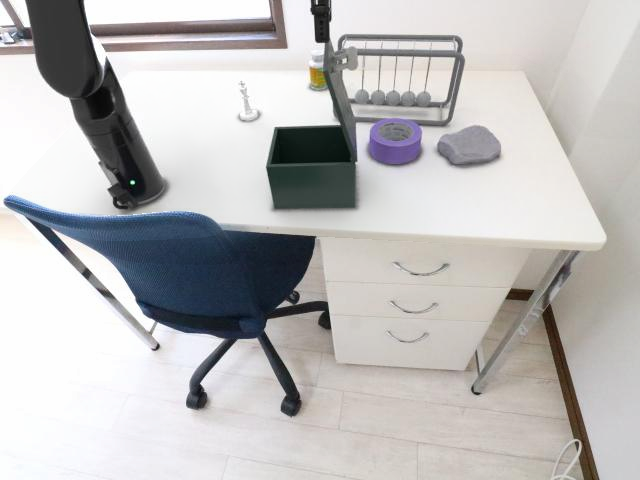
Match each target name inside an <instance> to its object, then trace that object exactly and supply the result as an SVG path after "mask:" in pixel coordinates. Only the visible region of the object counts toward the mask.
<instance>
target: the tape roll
mask: <svg viewBox="0 0 640 480" xmlns="http://www.w3.org/2000/svg"><path fill="white" fill-rule="evenodd" d="M388 118H389V119H384V120H381V121H378V122H374V123H373V124H372V126H371V127H370V129H369V142H368V143H369V145H368V151H369V154H370V155H371V157H372V158H373V159H374V160H377V161H378V162H380V163H382V164H383V163H384V164H387V165H402V164H403V165H404V164H407V163H409V162H412V161H414V160H415V159H416V158H417V157H418V156H419V155H420V151H421V143H422V138H423V130H422V128H421V126H420V124H416V123H415V122H413V121H410V120H407V119H408V118H401V117H388Z"/></svg>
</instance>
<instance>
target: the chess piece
mask: <svg viewBox="0 0 640 480" xmlns="http://www.w3.org/2000/svg"><path fill="white" fill-rule="evenodd" d="M238 85H239V88H238V90H239V91H240V94H241V95H240V99H242V100H243V107H244V110H242V111H241V112H240V114H239V118H240V120H242V121H247V122H249V121H253V120H255V119H257V118H258V116H259V114H258V111H257V110H256V109H254V108H251V106H250V103H249V100H248V99H249V98H250V96H249V95H250V94H248V93H247V91H248V87H247V86H246V82H244V81H243V79H240V80H239V82H238Z"/></svg>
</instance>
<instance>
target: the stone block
mask: <svg viewBox="0 0 640 480" xmlns="http://www.w3.org/2000/svg"><path fill="white" fill-rule="evenodd" d="M501 144H502V143H501V142H500V140H499V139H498V138H497V137H496V135H495V134H494V133H493V132H491V130H490V129H488V128H487V127H485V126H484V125H480V124H473V125H468V126H467V127H464V128H463V129H461V130H459V131H457V132H454V133H444V134H442V135H441V136H440V137H439V139H438V142H437V145H436V146H437V150H438V152H440V153H441V155H442V156H443V157H446V159H448V160H449V161H450V163H452V164H453V165H464V164H466V165H467V164H479V163H484V162H487V163H488V162H491V161H493V160H494V159H495V158H496V157H498V156H500V154H501V151H502V145H501Z"/></svg>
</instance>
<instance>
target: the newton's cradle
mask: <svg viewBox="0 0 640 480" xmlns="http://www.w3.org/2000/svg"><path fill="white" fill-rule="evenodd" d="M349 41H350V42H351V41H352V42H353V41H355V42H360V41H361V42H364V47H363V48H357V47H355V48H356V49H357V56H359V57H361V56H362V64H363V67H365V64H366V57H395V66H394V79H393V87H395V84H396V75H397V64H398V57H407V58H408V57H411V58H412V61H411V69H410V78H409V87H408V90H406V91H404V92H403V93H402V94H400V93H399V91H397V90H395V88H393V90H390V91H388V92H387V93H385V92H384V91H383V90H381V89H380V81H381V68H382V67H381V66H382V59H379V60H378V62H379V63H378V64H379V65H378V85H377V86H378V87H377V89H375V90H374V91H372V93H371V95H370V94H369V92H368V90H366V89H364V81H365V80H364V78H365V70H362V73H361V75H362V79H361V89H358V90H357V91H356V92H355V93H354V98H352V97H351V98H350V97H348V98H349V101H350V104H359V105H365V104H370V105H372V104H373V105H375V106H381V105H389V106H391V107H394V106H404V107H411V106H416V107H420V108H425V107H438V108H439V113H440V114H439V115H440V116H439V117H440V118H439V119H440V120H436V119H435V120H432V119H412V118H406V119H407V120H410V121H413V122H415V123H416V124H418V125H421V126H422V125H423V126H424V125H425V126H446V125H448V124H450V123H451V121H452V119H453V117H454V113H455V107H456V105H457V104H456V103H457V99H458V96H459V91H460V87H461V82H462V77H463V73H464V68H465V65H466V58H465V56H464V55H463V53H462V52H463V47H464V42H463V39H462V38H461V36H458V35H455V34H387V33H386V34H380V33H379V34H378V33H375V34H373V33H372V34H371V33H345V34H342V35H340V37H339V38H338V40H337V50H336V51H335V50H334V52H335V55H339V54H342V53H345V52H346V51H347V49H348V48H349V47H345V45H346V42H349ZM367 42H381V43H380V48H367ZM383 42H397V48H383ZM400 42H414V44H413V45H414V46H413V48H411V49H410V48H399V44H400ZM416 42H422V43H423V42H425V43H427V42H429V43H430V48H429V49H420V48H419V49H416ZM433 43H453V49H432V47H433ZM456 43H457V45H456ZM456 46H457V47H456ZM417 57H418V58H428V61H427V62H428V63H427V68H426V69H427V71H426V78H425V84H424V91H421V92H419V93H418V94H417V95H416V93H414V91H412V90H411V81H412V74H413V68H414V59H415V58H417ZM432 58H451V59H453V58H454V62H453V65H452V66H453V67H452V72H451V76H450V81H449V87H448V91H447V96H446V99H445V100H444V101H432V95H431V94H430V93H429V92H428V91H426V89H427V83H428V78H429V72H430V65H431V59H432ZM337 62H338V65H340V64H343V59H342V60H339V61H337ZM343 71H344V70H341V71H340V72H341V75H342V78H344V77H343V76H344V75H343V74H344V73H343ZM449 104H450V106H449V110H448V114H447V118H445V119H444V120H443V107H446V106H447V105H449ZM332 114H333V117H334V118H335V119H337V120H339V119H338V116H337V113H336V110H335V107H334V104H333V103H332ZM354 118H355V121H356V122H363V123H364V122H365V123H366V122H367V123H376V122H378V121H381V120H384V119H389V118H390V117H375V116H374V117H373V116H372V117H370V116H355V115H354Z"/></svg>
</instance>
